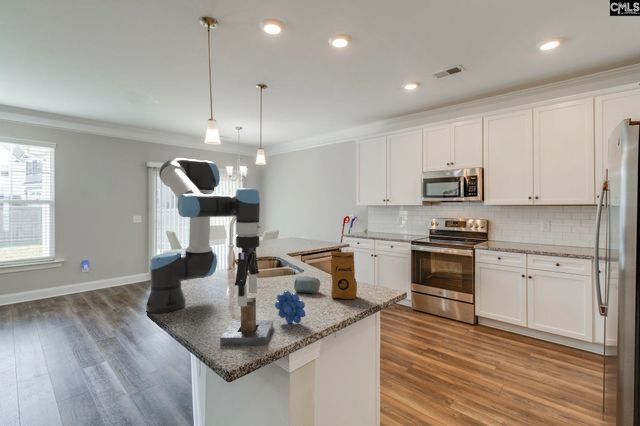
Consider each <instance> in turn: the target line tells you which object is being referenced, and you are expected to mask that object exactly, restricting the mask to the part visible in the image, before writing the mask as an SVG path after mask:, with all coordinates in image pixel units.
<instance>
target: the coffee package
mask: <svg viewBox="0 0 640 426" xmlns="http://www.w3.org/2000/svg"><path fill="white" fill-rule="evenodd" d="M354 255H355V253H354V251H331V280H332V281H331V291H330V292H331V294H330V296H331V298H332V299H333V298H334V299H339V300H340V299H343V300H356V298H357V294H358V293H357V292H358V283H357V280H356V276H355V274H356V272H355V256H354Z"/></svg>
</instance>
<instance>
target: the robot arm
mask: <svg viewBox="0 0 640 426" xmlns="http://www.w3.org/2000/svg"><path fill="white" fill-rule="evenodd" d="M158 173H159V179H160V181H161V183H163V185H165V186H166V187H168V188H169V189H170V190H171V192H173V194H174V195H175V196H176V198H177V204H176V205H177V210H178V215H179V216H180V217H182V218H189V237H188V238H189V240H188V243H189V244H188V246H187V247H186V248H185V253H184V254H183V253H182V252H181V251H179V250H178V251H170V252H169V251H168V252H163V253H159V254H157V255H154V256H153V257H151V259H150V265H149V266H150V267H149V270H150V293H149V296H148V299H147V301H146V304H145V309H146V312H147V313H151V314H152V313H153V314H161V313H168V312H174V311H177V310H181V309H182V308H185V306H186V305H187V303H186V297H185V294H184V292H183V289H182V281H189V280H195V279H204V278H207V277H211V276H213V275H214V273H215V272H216V270H217V267H218V266H217V265H218V258H217V254H216V252H215V251H213V247H212V246H211V245H210V235H211V234H210V233H211V231H210V230H211V229H210V228H211V218H222V217H223V218H224V217H225V218H228V217H230V218H231V217H235V219H236V220H235V234H236V235H237V236H236V237H235V246H236V248H237V249H241V252H238V259H237V268H236V275H235V281H234V286H237V307H241V306H247V298H248V294H256V293H258V289H257V288H258V284H257V283H258V282H257V281H258V276H257V275H259V274H260V270H259V264H258V259H257V258H258V257H257V248H259V247H260V236H259V234H260V229H261V228H262V226H261V224H260V206H261V203H260V202H261V200H260V192H259V190H258V189H257V188H238V189H236V191H235V195H234V194H231V195H230V194H229V195H228V194H212V193H214V192H215V188H217V187H218V186H219V185H220V179H221V178H220V177H221V176H220V171H219V168H218V166H217V164H216V163H215V162H214V161H209V160H205V159H204V160H203V159H202V160H201V159H192V158H183V157H175V158H172V159H169V160H167V161H165V162H164V163H163V164H162V165H161V166H160V168H159V172H158ZM247 281H248V285H247Z"/></svg>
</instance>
